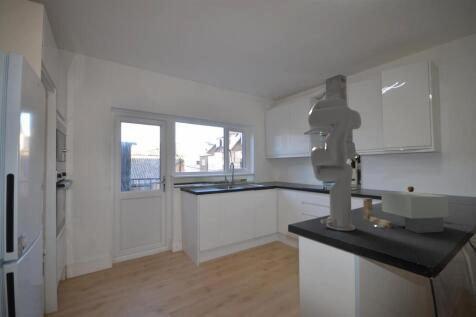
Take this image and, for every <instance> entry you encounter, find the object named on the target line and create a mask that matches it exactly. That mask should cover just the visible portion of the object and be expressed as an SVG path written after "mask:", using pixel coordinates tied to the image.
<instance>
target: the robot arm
mask: <svg viewBox="0 0 476 317" xmlns="http://www.w3.org/2000/svg"><path fill="white" fill-rule="evenodd" d="M308 113H309V114H308V116H307V120H308V124H309V126H310V127H311V128H312V129H324V128H333V129H331V130H330V131H329V133H328V134H326V136H325V138H324V144H325V145H318V146H315V147H313V148H312V149H311V152H310V160H311V165H312V170H313V174H314V178H315V179H316V180H317V181H318V182H332V183H334V184H333V185H332V186H331V187H330V189H329V216H327V218H326V219H324V218H323V219H320V223H321V224H326V227H328V228H329V229H332V230H336V231H344V232H350V231H354V230H356V226H355V224H352V182H353V181H352V180H353V172H354V170H355V169H356V165H357V164H356V163H357V161H358V160H359V157H360V154H359V153H357V152H356V144H355V142H354V140H353V139H354V138H353V136H354V135H353V130H357V129H358V130H359V129H360V127H361V125H362V118H361V114H360V112H358V111H357V110H354V109H351V108H350V107H349V106H348V102H347V101H346V99H344V98H342V97H333V98H327V99H321V100H318V101H316V102H315V103H314V104H313V106H312V107H311V109H310V111H309V112H308ZM348 160H350V161H351V162H350V163H348Z"/></svg>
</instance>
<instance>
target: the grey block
mask: <svg viewBox="0 0 476 317" xmlns="http://www.w3.org/2000/svg"><path fill="white" fill-rule="evenodd" d="M381 212H386V213H389V214H393V215H396V216H400V217H404V230H407V231H411V232H413V233H416V234H417V233H418V234H419V233H420V234H421V233H439V232H440V233H442V232H444V218H449V196H447V195H440V194H434V193H433V194H431V193H425V192H417V191H413V192H409V191H402V192H401V191H399V192H394V191H393V192H381Z"/></svg>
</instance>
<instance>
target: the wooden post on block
mask: <svg viewBox="0 0 476 317" xmlns="http://www.w3.org/2000/svg"><path fill="white" fill-rule="evenodd" d="M362 202H363V220H365V221H367V222H371V223H374V224H380V225H384V226H386V227H385V228H389V229H392V228H393V227H394V224H393V222H392V221H389V220H385V219H382V218H380V217H379V218H378V217H375V216H373V215H374V214H373V198H371V197H363V200H362Z"/></svg>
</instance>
